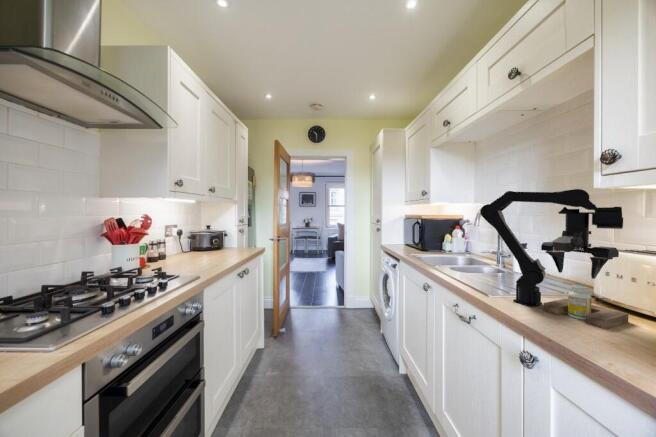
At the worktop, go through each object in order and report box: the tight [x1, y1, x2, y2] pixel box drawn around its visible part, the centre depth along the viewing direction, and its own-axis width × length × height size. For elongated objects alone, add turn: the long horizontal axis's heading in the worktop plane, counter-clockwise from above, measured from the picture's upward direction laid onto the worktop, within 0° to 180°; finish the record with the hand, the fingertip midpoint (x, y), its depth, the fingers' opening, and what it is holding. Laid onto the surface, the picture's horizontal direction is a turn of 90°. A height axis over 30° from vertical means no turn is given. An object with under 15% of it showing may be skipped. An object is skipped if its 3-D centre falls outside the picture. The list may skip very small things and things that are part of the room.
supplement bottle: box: [567, 284, 592, 321], centre depth 87 cm, size 5×5×10 cm
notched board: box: [542, 298, 629, 330], centre depth 87 cm, size 16×12×2 cm
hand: (576, 275), depth 91 cm, fingers open, 9 cm apart
